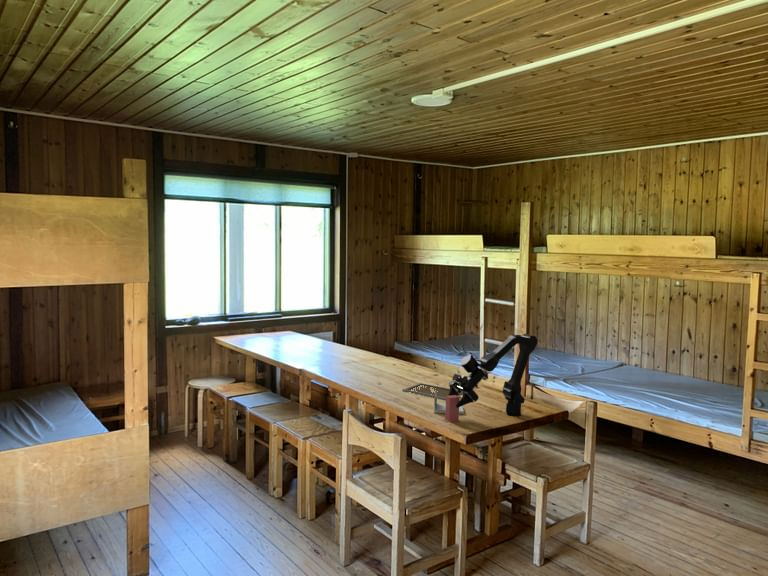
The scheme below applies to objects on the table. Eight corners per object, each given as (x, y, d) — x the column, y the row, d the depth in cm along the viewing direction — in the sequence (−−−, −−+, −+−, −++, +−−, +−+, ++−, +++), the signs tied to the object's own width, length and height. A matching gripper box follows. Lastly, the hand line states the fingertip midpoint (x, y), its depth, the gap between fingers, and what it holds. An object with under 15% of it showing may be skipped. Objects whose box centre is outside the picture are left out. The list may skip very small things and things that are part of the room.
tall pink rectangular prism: (454, 418, 264) (455, 395, 264) (458, 420, 261) (459, 397, 260) (445, 419, 262) (446, 395, 262) (448, 421, 259) (450, 397, 258)
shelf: (462, 407, 282) (462, 392, 282) (463, 414, 271) (464, 399, 270) (433, 405, 283) (434, 391, 283) (434, 412, 272) (434, 397, 271)
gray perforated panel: (420, 382, 325) (468, 392, 308) (420, 385, 325) (467, 395, 308) (402, 389, 309) (451, 399, 292) (402, 392, 309) (451, 402, 293)
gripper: (453, 363, 270) (431, 387, 267) (474, 372, 253) (451, 398, 250) (466, 378, 274) (445, 403, 271) (488, 388, 257) (465, 414, 253)
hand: (451, 404), depth 261 cm, fingers open, 9 cm apart
